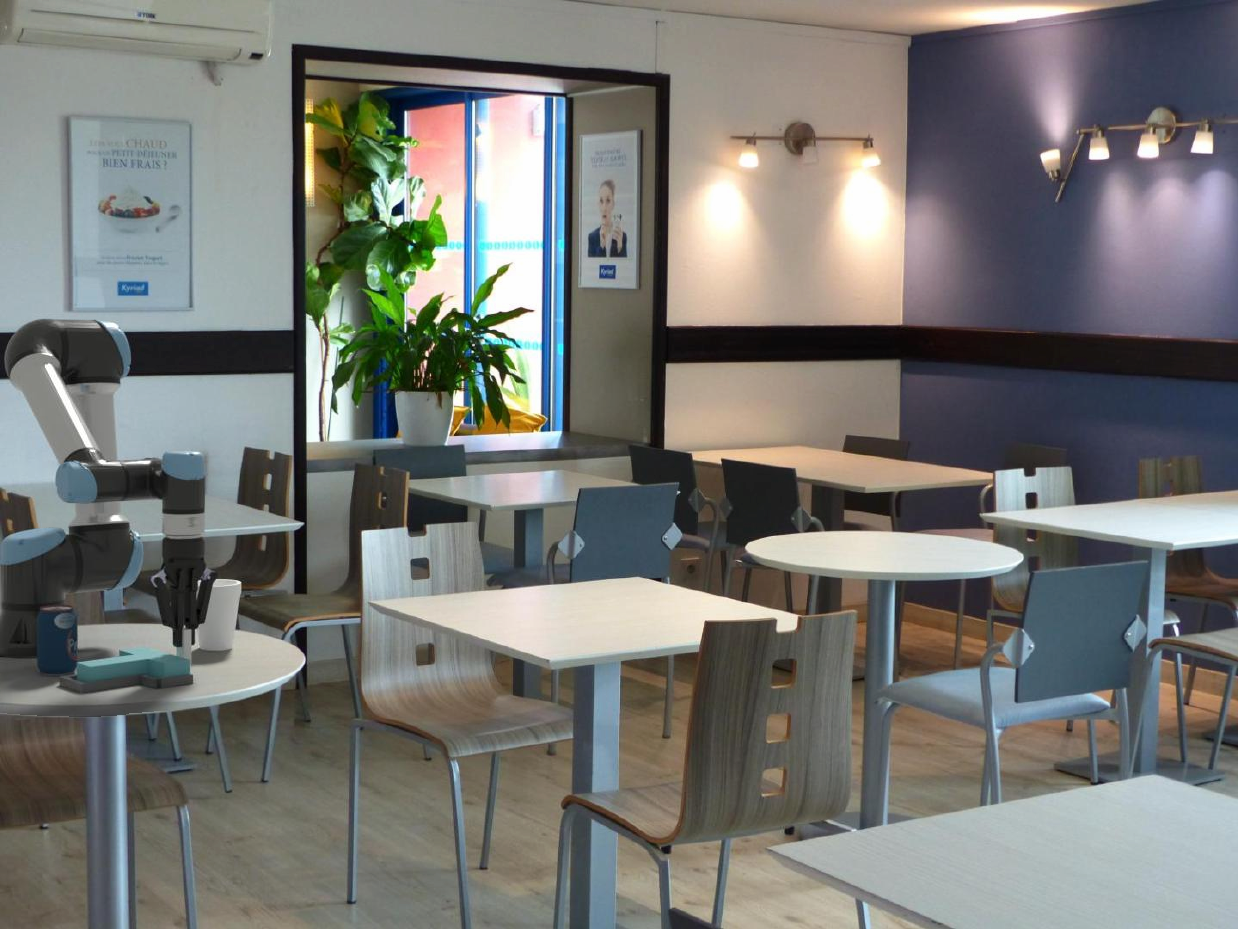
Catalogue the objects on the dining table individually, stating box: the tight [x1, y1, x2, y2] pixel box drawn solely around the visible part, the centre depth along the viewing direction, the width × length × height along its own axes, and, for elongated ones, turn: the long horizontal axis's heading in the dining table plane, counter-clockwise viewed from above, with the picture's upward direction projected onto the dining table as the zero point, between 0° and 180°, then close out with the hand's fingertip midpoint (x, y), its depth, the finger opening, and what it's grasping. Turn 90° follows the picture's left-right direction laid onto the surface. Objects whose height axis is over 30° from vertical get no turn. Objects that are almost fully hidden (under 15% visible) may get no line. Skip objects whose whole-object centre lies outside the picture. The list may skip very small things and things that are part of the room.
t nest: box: [58, 673, 194, 694], centre depth 273 cm, size 18×19×2 cm
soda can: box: [36, 604, 79, 677], centre depth 279 cm, size 7×7×12 cm
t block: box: [76, 646, 191, 682], centre depth 274 cm, size 16×16×4 cm
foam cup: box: [196, 578, 242, 652], centre depth 305 cm, size 10×9×13 cm
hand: (183, 663), depth 282 cm, fingers closed
